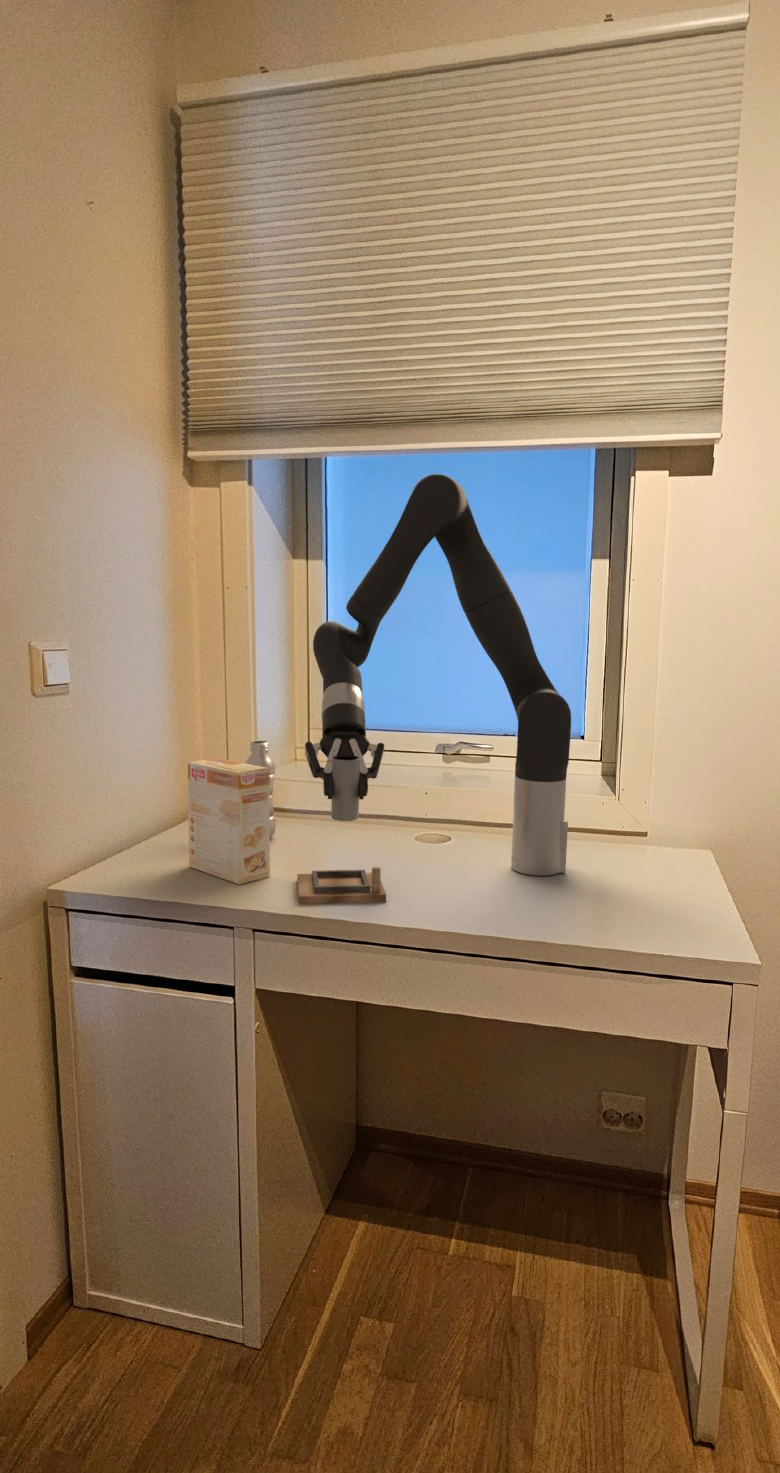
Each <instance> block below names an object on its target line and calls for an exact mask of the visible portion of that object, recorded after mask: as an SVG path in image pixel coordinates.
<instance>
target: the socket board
mask: <svg viewBox="0 0 780 1473" xmlns="http://www.w3.org/2000/svg"><path fill="white" fill-rule="evenodd" d="M381 870H382V868H381V867H380V866H372V868H371V872H366V870H365V869H335V870H334V869H333V870H332V869H331V870H328V869H327V870H325V869H324V870H323V869H322V870H311V873H297V875H296V876H297V878H296V883H297V895H298V896H297V897H298V905H306V904H307V905H308V904H309V903H311V904H312V903H315V904H348V903H349V904H350V903H351V904H352V903H355V902H357V903H383V902H384V903H386V902H387V893H386V891H385V888H384V885H383V882H382V881H381V880H382V879H381V876H382V875H381V874H382V873H381V872H382V871H381ZM311 904H310V905H311Z"/></svg>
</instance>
